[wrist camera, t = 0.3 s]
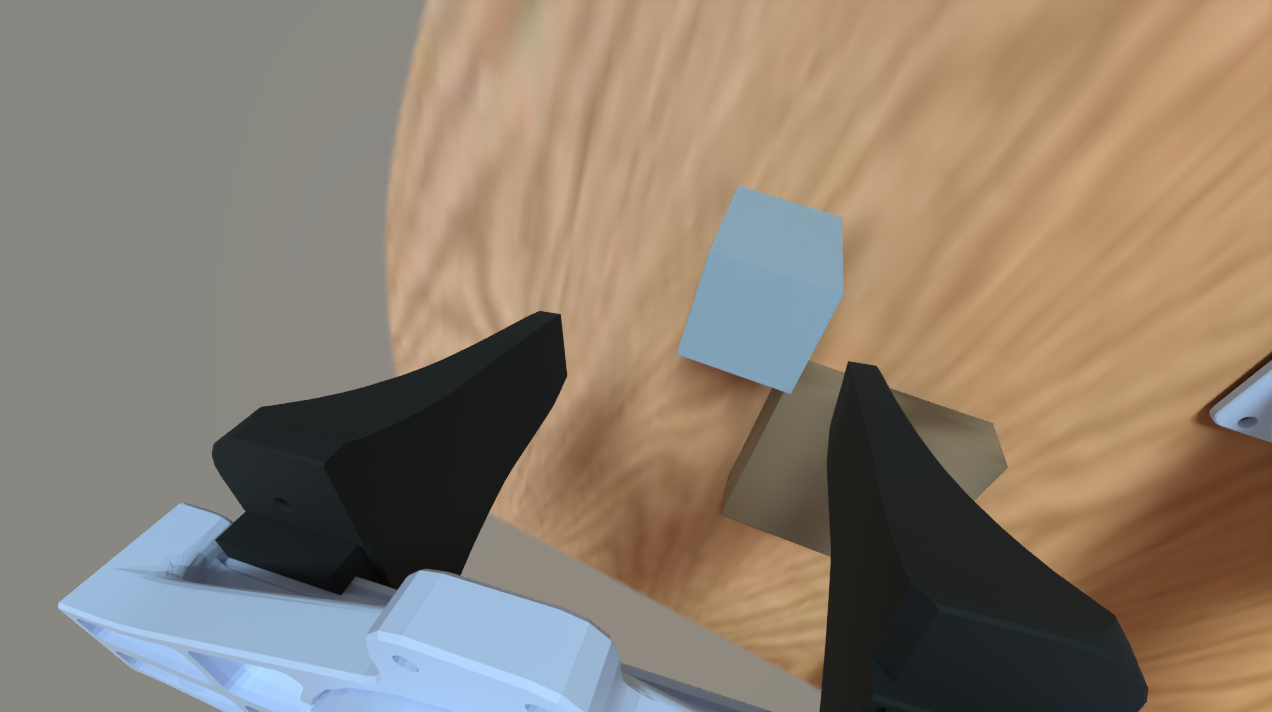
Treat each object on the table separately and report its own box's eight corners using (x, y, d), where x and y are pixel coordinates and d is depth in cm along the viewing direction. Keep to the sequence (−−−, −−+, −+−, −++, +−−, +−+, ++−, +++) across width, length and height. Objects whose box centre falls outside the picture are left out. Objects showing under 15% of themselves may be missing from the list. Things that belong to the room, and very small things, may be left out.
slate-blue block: (841, 217, 20) (843, 294, 15) (800, 304, 22) (790, 393, 18) (738, 185, 20) (709, 251, 16) (709, 274, 23) (676, 354, 18)
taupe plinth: (990, 417, 23) (1007, 467, 21) (889, 530, 29) (893, 580, 27) (789, 348, 24) (785, 389, 22) (729, 471, 30) (720, 514, 27)
